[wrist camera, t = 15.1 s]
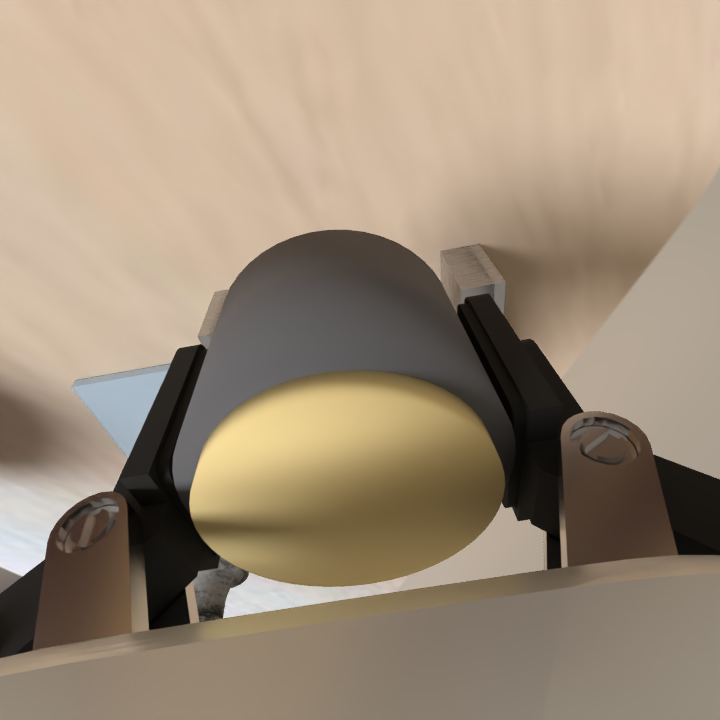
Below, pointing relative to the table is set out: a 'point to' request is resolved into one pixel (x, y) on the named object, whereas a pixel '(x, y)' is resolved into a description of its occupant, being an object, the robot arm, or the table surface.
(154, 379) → the mat
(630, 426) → the robot arm
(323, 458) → the grey and yellow cylinder
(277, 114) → the table surface
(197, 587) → the dark grey turned post
